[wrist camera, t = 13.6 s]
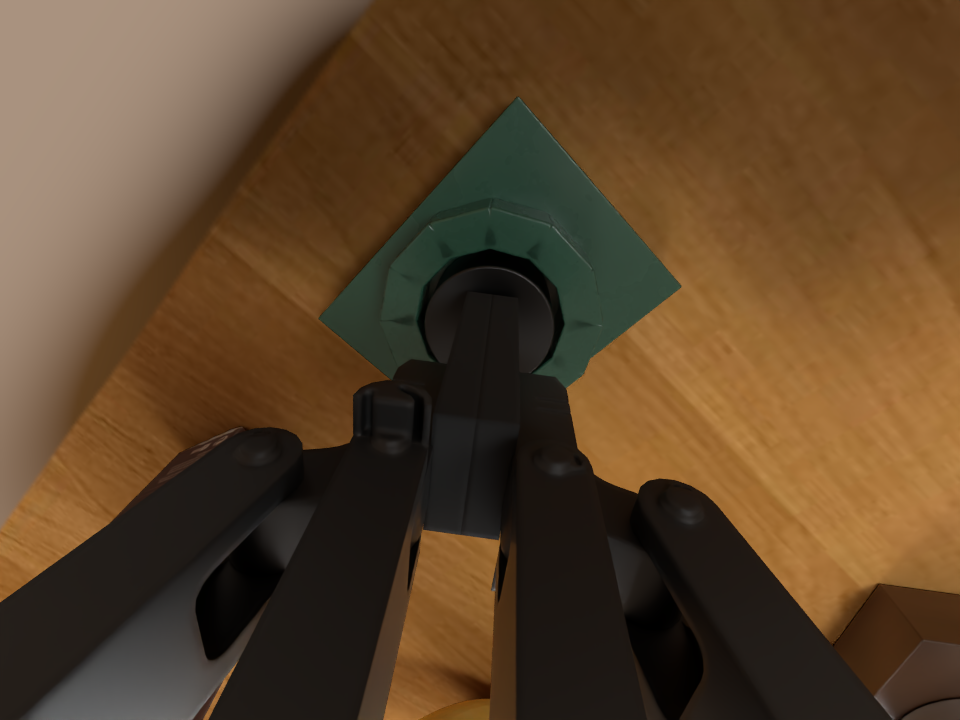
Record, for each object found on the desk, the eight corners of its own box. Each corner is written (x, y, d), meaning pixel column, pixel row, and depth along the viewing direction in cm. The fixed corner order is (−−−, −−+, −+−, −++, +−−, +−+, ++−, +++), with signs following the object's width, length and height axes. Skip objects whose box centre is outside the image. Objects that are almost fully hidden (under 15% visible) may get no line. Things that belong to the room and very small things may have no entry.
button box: (517, 98, 16) (518, 92, 12) (664, 268, 18) (701, 305, 14) (337, 298, 19) (297, 339, 16) (478, 420, 22) (470, 479, 18)
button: (492, 222, 15) (488, 236, 13) (574, 307, 16) (582, 332, 14) (410, 305, 17) (397, 328, 15) (491, 378, 18) (488, 408, 16)
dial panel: (876, 583, 24) (923, 643, 22) (1057, 607, 24) (1127, 671, 22) (782, 712, 30) (809, 773, 27) (929, 732, 30) (972, 796, 27)
